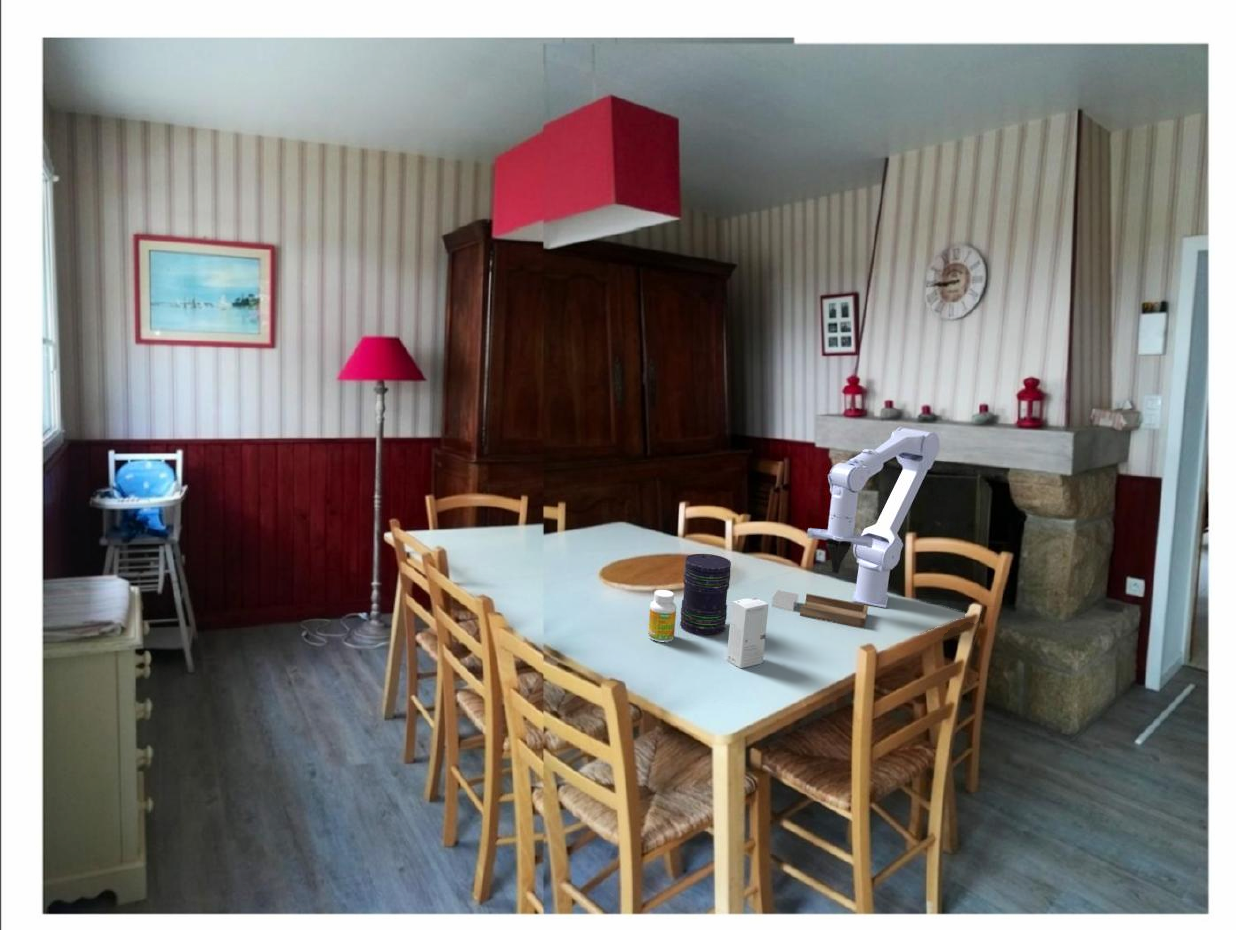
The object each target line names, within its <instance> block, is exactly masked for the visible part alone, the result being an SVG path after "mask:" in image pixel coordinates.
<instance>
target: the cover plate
mask: <svg viewBox="0 0 1236 930" xmlns="http://www.w3.org/2000/svg"><path fill="white" fill-rule="evenodd" d="M799 595H800V594H799V593H794V592H788V591H783V590H777V591H775V593H774V595H773V596H772V598H771V599H772V600H771V607H772V608H778V609H782V610H786V611H792V612H794V610H795V608H796V607H795V606H797V605H798V603H799Z"/></svg>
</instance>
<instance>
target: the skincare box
mask: <svg viewBox="0 0 1236 930" xmlns="http://www.w3.org/2000/svg"><path fill="white" fill-rule="evenodd" d="M768 613H769V603H768V602H766V601H763V600H761V599H759V598H756V597H750V598H742V599H739V600H733V601H731V612H730V621H729V631H728V641H727V642H728V643H727V649H726V650H727V653H726V661H728V662H729V663H730V664H732V665H734V666H735V667H737V668H739V669H743V668H748V667H753V666H756V665H761V664H762V663H763V661H764V656H765V655H764V653H765V644H766V635H767V634H766V632H767V622H768Z"/></svg>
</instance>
